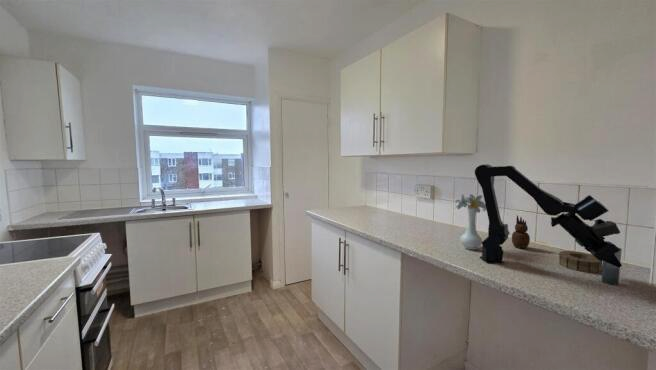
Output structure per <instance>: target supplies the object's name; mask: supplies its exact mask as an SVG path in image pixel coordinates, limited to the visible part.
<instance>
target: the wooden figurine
mask: <svg viewBox="0 0 656 370" xmlns="http://www.w3.org/2000/svg"><path fill="white" fill-rule="evenodd" d="M511 241H512V242H511V243H512V245H513V247H515V248H517V249H521V250H522V249H523V250H524V249H525V250H526V249H527V248H528V246H529V244H530V242H531V237H530V235H529V233H528V225H527V221H526V220H525V219H522V216H520V217H519V215H518V214H517V215H516V224H515V225H514V231H513V232H512V234H511Z"/></svg>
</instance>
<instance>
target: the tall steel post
mask: <svg viewBox="0 0 656 370" xmlns="http://www.w3.org/2000/svg"><path fill="white" fill-rule="evenodd" d="M618 248H619V249H620V250H619V251H618V252H617V253H615V256H616V257H617V259H618V260H619V262H620V263H621V261H622V260H621V259H622V250H623V249H622V248H621V247H618ZM620 270H621V267H616V266H614V265H612V264H609V263H607V262H605V261H602V270H601V280H600V281H601V282H602V283H604V284H607V285H611V286H619V283H620V281H619V280H620V272H621V271H620Z"/></svg>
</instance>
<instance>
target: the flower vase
mask: <svg viewBox="0 0 656 370" xmlns="http://www.w3.org/2000/svg"><path fill="white" fill-rule="evenodd" d="M482 198H483V195H481V194H480V195H477V196H475V195H474V194H472V193H470V194H469V197H468V196H467V197H465V196H464V194H460V196H459V199H456V200H455V201H454V202H455V205H456V206H454V209H457V210H460V209H461V208H463V207H464V208H466V209H467V213H468V214H467V215H468V220H467V228H466V231H465V232H464V233H463V234H462V235H460V238H459V241H460V243H461V244H462V246H463V248H464V249H467V250H479V247H481V246H482V242H483V239H482V236H480V234H479V233H478V231H477V227H476V224H477V223H476V218H477V217H476V215H477V213H478V214H479V213H481V211H482V212H486V211H487V209H486V205H485V200H481V199H482ZM480 208H482V209H480Z"/></svg>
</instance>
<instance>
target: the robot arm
mask: <svg viewBox="0 0 656 370" xmlns="http://www.w3.org/2000/svg"><path fill="white" fill-rule="evenodd" d="M474 176H475V178H476V180H477V182H478V184H479V185H480V187H481V190H482V194H483V195H482V196H483V198H484V199H483V201H485V205H486V209H487V210H486V213H487V219H488V230H487V231H488V232H487V233H488V236H487V237H485V239H483V240H482V245H481V246H482V247H481V249H482V250H481V251H482V252H481V256H479V259H481V260H482V261H483V262H485V263H486V264H504V263H505V261H504V260H503V259H504V250H503V246H501V245H503V244H504V243H505V242H506V241H507V240H508V238H509V235H511V232H510V231H509V225H508V223H505V224H504V222H503V221H502V217H501V213H500V209H499V205H498V200H497V195H496V190H495V186H494V185H495V177H506V178H508V179H509V180H511V181H512V182H513V183H514V184H515V185H517V186H518V187H519V188H520V189H522V191H524V192H525V193H526V194H528V195H529V196H530V197H532V198H533V200H534V202H535V203H536V204H537V205H538V206H539V208H540V209H541V210H542V211H543V212H544V213H545V214H547V215H548V216H551V217H550V224H551V227H556V226H557V225H559V226H560V227H561V228H563V230H565V232H567V233H568V234H569V236H571V237H572V238H573V239H574V240H575V243H577V244H578V245H579V246H580V247H582V248H583V249H585V251H587V252H589V253H590V254H591V255H593V256H594V257H595V258H597V259H598V260H599V261H602V262H603V261H605V262H607V263H609V264H612V265H614V266H616V267H620V268H621V267H622V266H623V264H621V262H619V260H618V259H617V257H616V256H615V253H617V252H618V251H619V250H620V249H619V248H620V247H618V246H617V245H616V244H614V243H613V242H611V241H606V238H605V237H608V236H611V235H618V234H620V233H621V230H620V229H619V227H618V225H617V223H616V222H614V221H609V220H606V221H605V220H604V219H601V218H599V217H600V216H602V215H605V214H606V213H608V212H609V209H608V208H607V207H606V206H605V205H603V203H601V202H600V201H599V200H597V199H595V198H594V197H593V196H592V195H590V194H588V195H587V196H585V197H584V198H582V199H581V200H580V201H578V202H576V203H571V202H566V201H563V200H562V199H560V198H559V197H557V196H555V195H553V194H551V192H550V193H549V192H548V191H545V190H543V189H542V188H540V187H539V186H538V185H537V184H535V183H534V182H533V181H531V180H530V179H529V178H528V177H526V175H524V174H523V173H521V171H519V170H518V169H517V168H516V167H515V166H514V165H506V166H501V165H500V166H492V165H490V164H480V165H478V166H476V168H475V169H474ZM577 215H578V216H577ZM553 216H555V217H553ZM597 218H598V219H597ZM588 220H589V221H593V220H594V224H593V225H589V224H588V223H586V222H584V221H588Z"/></svg>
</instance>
